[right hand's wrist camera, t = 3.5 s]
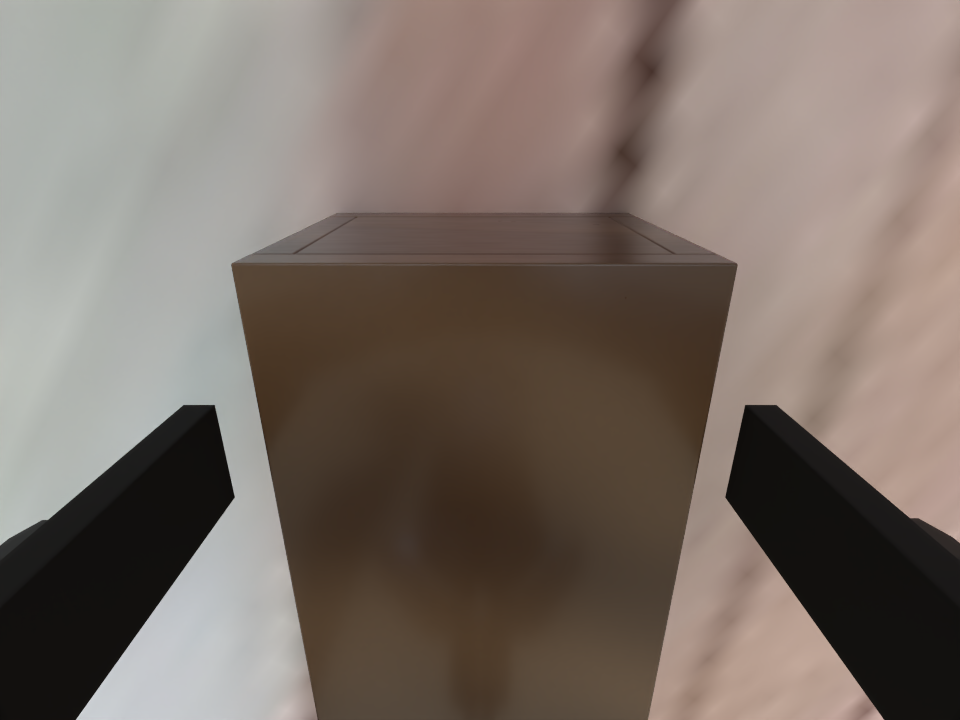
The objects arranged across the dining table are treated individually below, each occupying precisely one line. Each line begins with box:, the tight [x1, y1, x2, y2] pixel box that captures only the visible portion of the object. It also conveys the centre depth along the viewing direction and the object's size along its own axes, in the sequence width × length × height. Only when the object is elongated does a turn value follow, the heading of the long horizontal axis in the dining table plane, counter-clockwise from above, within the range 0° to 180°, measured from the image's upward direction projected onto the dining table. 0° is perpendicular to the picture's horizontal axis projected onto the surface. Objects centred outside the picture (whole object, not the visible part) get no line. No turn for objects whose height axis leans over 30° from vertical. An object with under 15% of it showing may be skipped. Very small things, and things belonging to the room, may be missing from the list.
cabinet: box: [231, 213, 737, 720], centre depth 18 cm, size 16×11×8 cm, turn 0°
